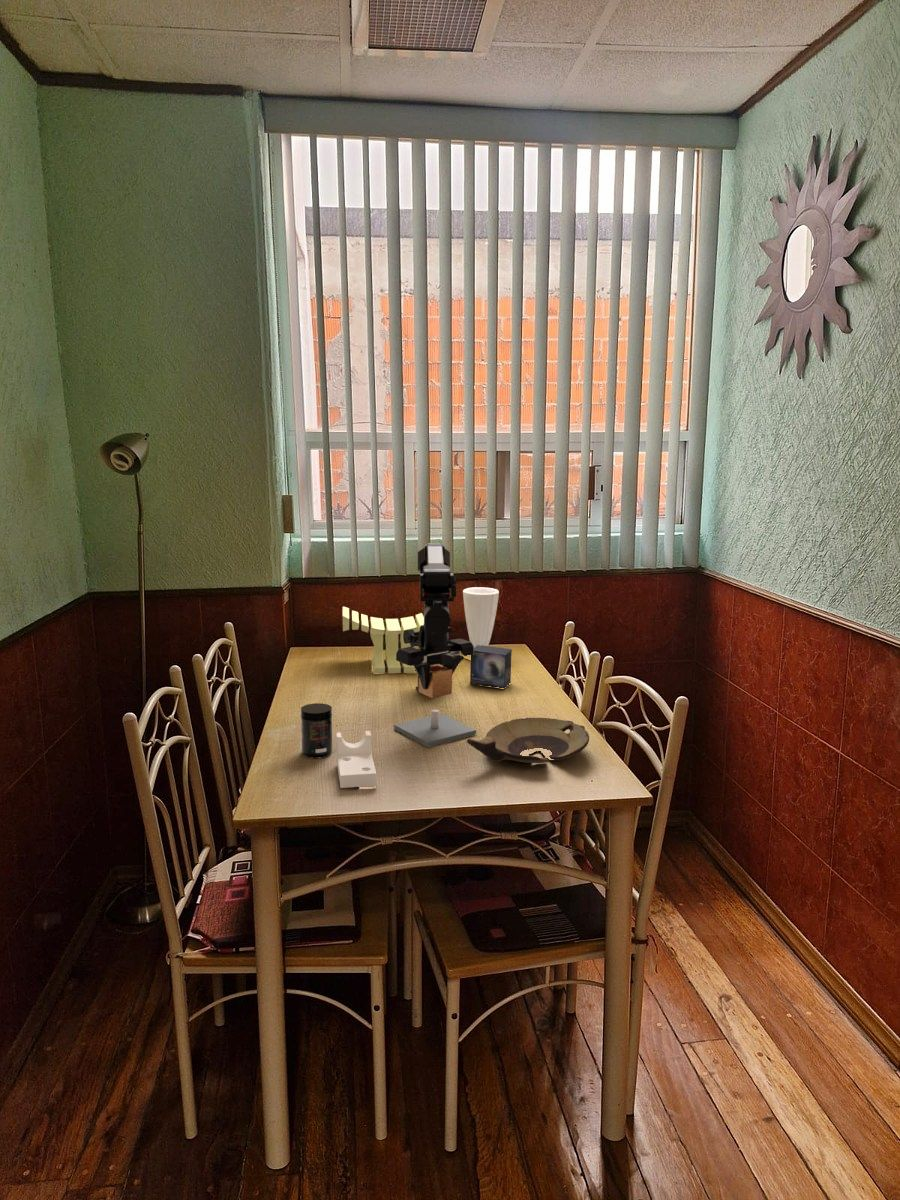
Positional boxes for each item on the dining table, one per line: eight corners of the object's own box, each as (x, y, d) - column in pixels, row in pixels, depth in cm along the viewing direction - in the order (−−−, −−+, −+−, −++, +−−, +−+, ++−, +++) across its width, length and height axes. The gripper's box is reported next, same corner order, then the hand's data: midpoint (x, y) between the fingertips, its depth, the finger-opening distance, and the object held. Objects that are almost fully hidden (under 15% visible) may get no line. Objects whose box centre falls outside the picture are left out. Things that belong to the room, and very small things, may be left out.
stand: (441, 718, 202) (441, 698, 201) (476, 734, 191) (476, 713, 190) (393, 729, 194) (394, 708, 193) (427, 747, 183) (427, 725, 182)
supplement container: (325, 745, 183) (324, 701, 181) (337, 755, 178) (337, 710, 176) (297, 751, 180) (295, 706, 178) (308, 761, 174) (307, 715, 172)
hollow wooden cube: (437, 687, 194) (438, 663, 193) (451, 694, 190) (452, 669, 189) (418, 691, 191) (418, 667, 190) (432, 698, 187) (432, 673, 186)
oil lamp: (608, 770, 172) (610, 736, 170) (472, 782, 165) (473, 747, 163) (568, 733, 193) (570, 703, 192) (446, 742, 186) (447, 711, 185)
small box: (468, 685, 229) (469, 649, 227) (476, 679, 235) (477, 644, 233) (504, 690, 225) (505, 653, 223) (511, 683, 231) (512, 648, 229)
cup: (498, 661, 254) (500, 594, 249) (461, 661, 254) (462, 593, 249) (496, 652, 265) (498, 587, 261) (461, 651, 265) (462, 586, 261)
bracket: (336, 766, 172) (336, 732, 171) (370, 764, 174) (369, 730, 172) (340, 792, 160) (340, 756, 158) (376, 789, 161) (376, 754, 160)
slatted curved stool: (438, 658, 257) (439, 603, 253) (444, 672, 241) (445, 614, 238) (343, 660, 253) (342, 604, 249) (343, 674, 237) (342, 615, 234)
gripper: (447, 611, 199) (446, 672, 202) (383, 620, 188) (383, 685, 191) (476, 619, 190) (474, 683, 193) (409, 630, 179) (409, 697, 182)
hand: (435, 686), depth 190 cm, fingers closed on hollow wooden cube, 6 cm apart
